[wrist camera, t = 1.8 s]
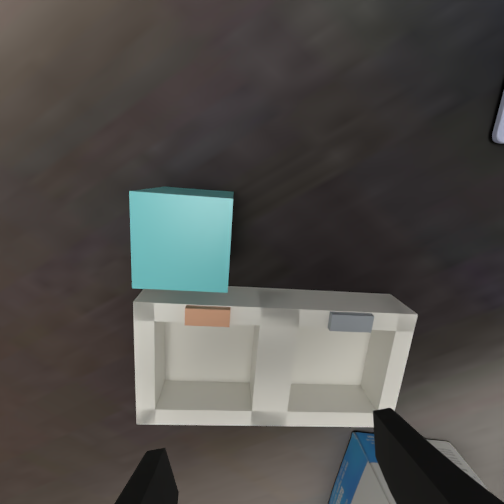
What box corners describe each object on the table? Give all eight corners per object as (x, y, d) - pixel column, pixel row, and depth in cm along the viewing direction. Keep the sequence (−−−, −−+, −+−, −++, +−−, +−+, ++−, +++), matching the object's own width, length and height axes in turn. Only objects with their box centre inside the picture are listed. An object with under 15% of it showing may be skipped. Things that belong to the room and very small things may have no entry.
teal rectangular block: (233, 191, 17) (233, 198, 11) (229, 256, 18) (227, 292, 12) (165, 186, 17) (129, 190, 11) (165, 252, 18) (132, 288, 12)
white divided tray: (390, 294, 19) (422, 317, 16) (369, 393, 21) (394, 432, 18) (149, 282, 18) (130, 305, 15) (150, 388, 20) (134, 429, 17)
